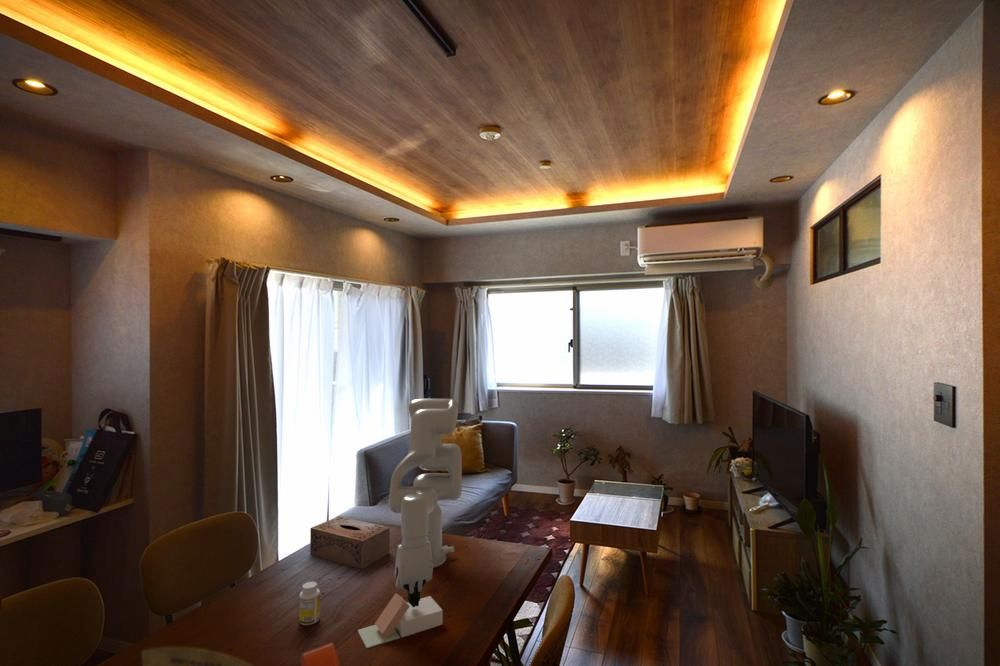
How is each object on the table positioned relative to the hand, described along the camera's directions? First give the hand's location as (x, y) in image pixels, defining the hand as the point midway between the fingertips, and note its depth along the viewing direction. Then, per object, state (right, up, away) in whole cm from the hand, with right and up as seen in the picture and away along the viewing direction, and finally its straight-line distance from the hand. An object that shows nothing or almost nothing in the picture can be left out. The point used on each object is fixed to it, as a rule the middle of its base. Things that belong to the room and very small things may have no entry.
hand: (414, 604), depth 139 cm
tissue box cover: (-32, -7, +45) cm, 56 cm away
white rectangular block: (+1, -5, 0) cm, 5 cm away
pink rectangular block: (-5, -2, -3) cm, 6 cm away
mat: (-9, -5, -5) cm, 12 cm away
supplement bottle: (-30, -6, +1) cm, 31 cm away
